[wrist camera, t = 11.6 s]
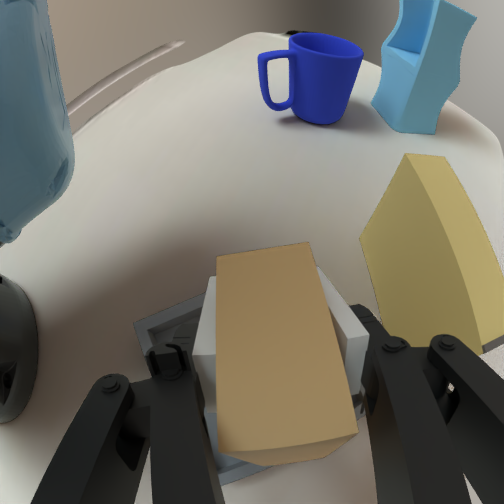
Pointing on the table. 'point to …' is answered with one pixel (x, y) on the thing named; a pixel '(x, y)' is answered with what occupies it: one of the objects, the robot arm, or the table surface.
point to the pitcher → (421, 64)
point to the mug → (315, 76)
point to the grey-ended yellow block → (433, 259)
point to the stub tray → (227, 467)
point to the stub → (278, 360)
